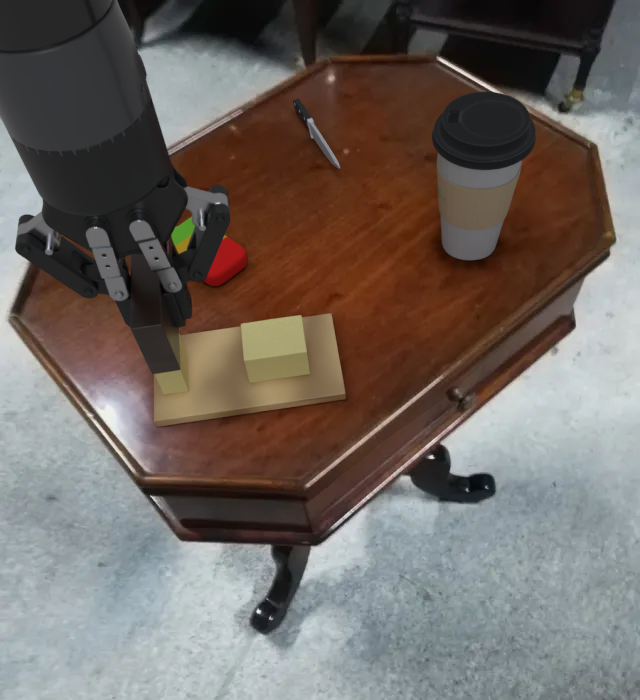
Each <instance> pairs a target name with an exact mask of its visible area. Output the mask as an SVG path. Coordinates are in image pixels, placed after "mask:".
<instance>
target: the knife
mask: <svg viewBox="0 0 640 700" xmlns="http://www.w3.org/2000/svg"><path fill="white" fill-rule="evenodd" d="M292 104H293V108H294V110H295V112H297V113H298V115H299V116H300V118H301V119H302V121H303V122H304V123H305V125H306V126H307V127H308V131H309V136H310V138H311V139H313V140H314V141H315V142H316V144H317V145H318V147H319V148H320V150H321V152H322V153H323V154H324V156H326V158H327V160H328V161H329V162H330V163H331V164H332V165H333V166H334V167H336V168H337V169H341V166H340V162H339V161H338V159H337V157H336V156H335V154H334V152H333V151H332V149H331V148H330V146H329V144H328V143H327V141H326V139H325V138H324V137H323V135H322V134H321V132H320V131H319V129H318V127H317V126H316V124H315V121H314V119H313V118H312V116H311V114H310V113H309V111H308V110H307V108H306V107H305V105H304V103H303V102H302V101H301V99H300V98H296V99H295V98H294V99H293V100H292Z"/></svg>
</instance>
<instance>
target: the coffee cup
mask: <svg viewBox="0 0 640 700" xmlns="http://www.w3.org/2000/svg"><path fill="white" fill-rule="evenodd" d="M536 133H537V132H536V125H535V122H534V121H533V118H532V117H531V115H530V112H529V110H528V109H527V107H526V106H525V105H524V104H523V102H521V101H520V100H518V99H516V98H515V97H512V96H511V95H508V94H505V93H501V92H495V91H476V92H475V91H474V92H469V93H466V94H463V95H461V96H458V97H457V98H455V99H453V100H452V101H450V102H449V103H448V104H447V105H446V106H445V108H444V110H443V111H442V112H441V113H440V114H439V116H438V117H437V119H436V120H435V123H434V126H433V129H432V131H431V142H432V145H433V147H434V150H435V151H436V152H437V157H436V178H437V179H436V180H437V201H438V211H439V215H440V231H441V245H442V248H443V249H444V252H446V253H447V254H448V255H449V256H451V257H453V258H455V259H458V260H462V261H479V260H482V259H485V258H487V257H489V256H490V255H492V254H493V252H494V251H495V249H496V246H497V244H498V240H499V238H500V234H501V231H502V227H503V225H504V221H505V219H506V217H507V215H508V213H509V211H510V207H511V203H512V201H513V198H514V194H515V191H516V187H517V184H518V181H519V177H520V175H521V172H522V168H523V167H522V166H523V160H524V159H526V158H527V157H528V156H529V155H530V154H531V152H532V151H533V150H534V148H535V145H536V140H537V138H536V137H537V136H536Z"/></svg>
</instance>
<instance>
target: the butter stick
mask: <svg viewBox="0 0 640 700" xmlns="http://www.w3.org/2000/svg"><path fill="white" fill-rule="evenodd" d="M302 317H303V316H302V314H298V315H290V316H285V317H284V316H283V317H277V318H269V319H264V320H263V319H262V320H255V321H249V322H242V323H240V326H241V334H242V345H243V357H244V363H245V367H246V371H247V375H248V378H249V382H250V383H253V382H260V381H267V380H274V379H281V378H287V377H294V376H301V375H308V374H310V369H309V362H308V355H307V348H306V342H305V335H304V328H303V321H302Z"/></svg>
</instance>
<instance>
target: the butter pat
mask: <svg viewBox="0 0 640 700" xmlns="http://www.w3.org/2000/svg"><path fill="white" fill-rule="evenodd" d="M180 335H181V333H180V332H179V346H180V367H181V369H180V370H177V371H171V372H165V373H158V374H155V376H156V378H157V380H158V383H159V385H160V387H161V390H162V392H163V394H164V395H166V394H173V393H180V392H187V391H189V387H188V359H187V352H186V350H185V347H184V344H183V341H182V339H181V336H180Z"/></svg>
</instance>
